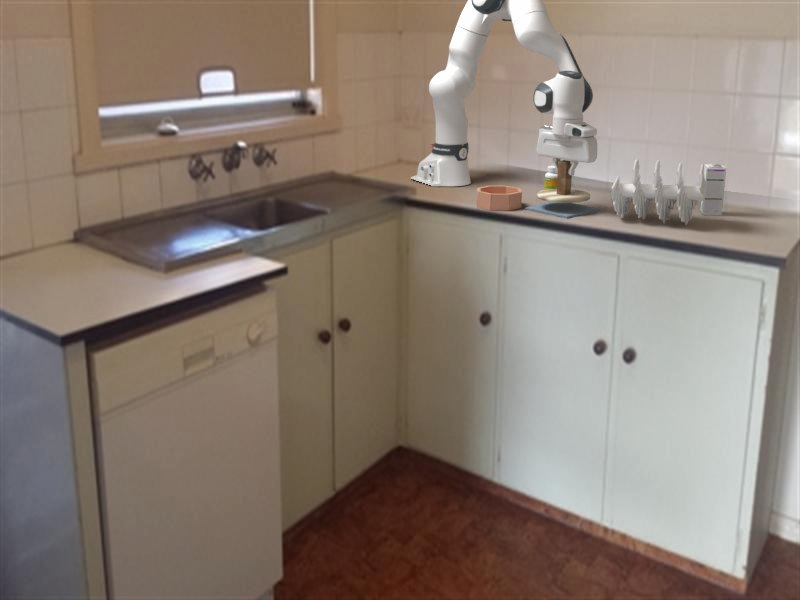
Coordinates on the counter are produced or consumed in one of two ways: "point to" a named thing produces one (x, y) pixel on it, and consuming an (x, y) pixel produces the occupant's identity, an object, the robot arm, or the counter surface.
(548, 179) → the supplement bottle
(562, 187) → the lid
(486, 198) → the bowl
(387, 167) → the counter surface
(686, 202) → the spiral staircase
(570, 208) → the mat
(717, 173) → the syrup box
